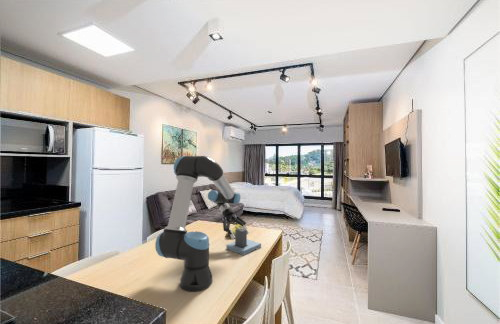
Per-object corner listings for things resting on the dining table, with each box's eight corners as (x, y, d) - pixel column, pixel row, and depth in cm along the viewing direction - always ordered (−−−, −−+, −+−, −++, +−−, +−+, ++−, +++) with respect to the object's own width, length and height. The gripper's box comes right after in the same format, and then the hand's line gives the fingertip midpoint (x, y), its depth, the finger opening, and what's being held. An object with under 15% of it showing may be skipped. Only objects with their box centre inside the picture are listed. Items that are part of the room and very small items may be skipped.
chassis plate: (243, 255, 138) (243, 251, 138) (226, 248, 149) (226, 244, 149) (261, 247, 152) (261, 243, 152) (244, 241, 162) (244, 238, 162)
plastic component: (238, 235, 169) (227, 228, 172) (234, 243, 171) (224, 236, 173) (247, 227, 188) (237, 221, 190) (244, 234, 189) (234, 228, 192)
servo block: (242, 251, 144) (242, 230, 144) (235, 248, 148) (235, 228, 149) (246, 249, 147) (246, 228, 148) (239, 247, 152) (239, 226, 152)
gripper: (235, 211, 170) (250, 234, 160) (210, 216, 151) (224, 243, 141) (240, 205, 167) (255, 229, 156) (215, 210, 148) (230, 237, 138)
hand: (241, 236), depth 149 cm, fingers open, 13 cm apart
